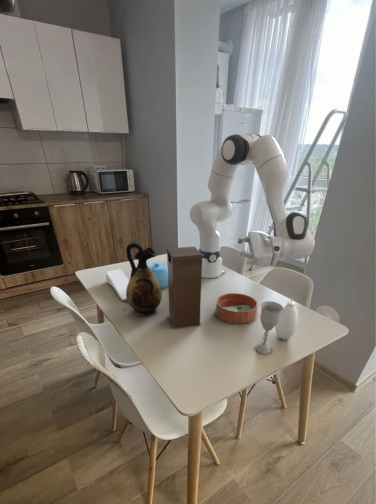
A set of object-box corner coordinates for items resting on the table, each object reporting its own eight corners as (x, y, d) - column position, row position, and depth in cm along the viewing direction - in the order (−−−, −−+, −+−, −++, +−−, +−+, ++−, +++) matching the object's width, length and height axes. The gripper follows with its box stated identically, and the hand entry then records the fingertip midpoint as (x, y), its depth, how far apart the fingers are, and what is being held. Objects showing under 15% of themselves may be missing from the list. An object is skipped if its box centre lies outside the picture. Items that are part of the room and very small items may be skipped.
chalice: (249, 349, 106) (256, 306, 96) (259, 341, 110) (267, 299, 100) (267, 357, 102) (276, 313, 92) (276, 349, 106) (286, 306, 96)
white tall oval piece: (291, 346, 108) (302, 303, 98) (270, 340, 111) (279, 298, 101) (295, 335, 113) (306, 294, 103) (275, 330, 116) (284, 289, 106)
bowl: (210, 307, 133) (211, 295, 129) (245, 303, 136) (247, 291, 133) (223, 326, 118) (225, 314, 115) (262, 321, 122) (264, 309, 119)
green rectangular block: (220, 312, 128) (221, 306, 126) (247, 308, 130) (248, 302, 129) (224, 316, 124) (224, 310, 122) (251, 313, 127) (252, 307, 125)
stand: (169, 316, 125) (166, 248, 109) (193, 313, 128) (194, 246, 111) (173, 328, 117) (172, 256, 101) (199, 324, 120) (202, 254, 103)
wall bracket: (139, 308, 142) (121, 281, 160) (142, 295, 138) (123, 269, 157) (120, 308, 137) (103, 280, 155) (122, 295, 133) (105, 268, 151)
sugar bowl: (177, 285, 152) (177, 264, 145) (152, 292, 145) (150, 270, 138) (163, 276, 162) (162, 256, 156) (139, 282, 155) (137, 261, 149)
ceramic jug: (166, 304, 134) (164, 239, 117) (156, 321, 122) (152, 251, 105) (132, 300, 137) (125, 236, 121) (119, 316, 125) (109, 247, 108)
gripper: (270, 227, 122) (237, 226, 121) (279, 255, 108) (243, 254, 108) (267, 240, 126) (235, 240, 126) (275, 268, 113) (240, 268, 113)
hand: (239, 247), depth 117 cm, fingers open, 8 cm apart
